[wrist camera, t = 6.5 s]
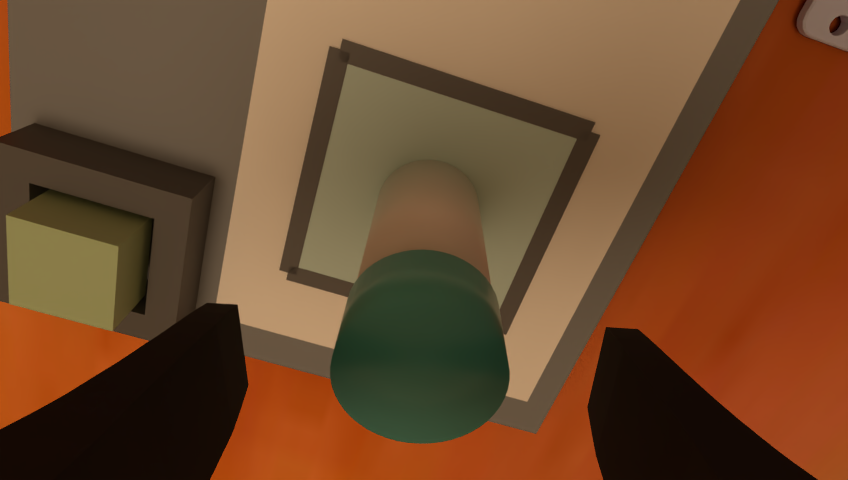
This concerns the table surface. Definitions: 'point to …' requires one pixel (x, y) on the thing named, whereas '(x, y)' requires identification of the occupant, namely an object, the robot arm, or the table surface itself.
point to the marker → (422, 314)
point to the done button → (77, 258)
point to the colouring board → (369, 147)
